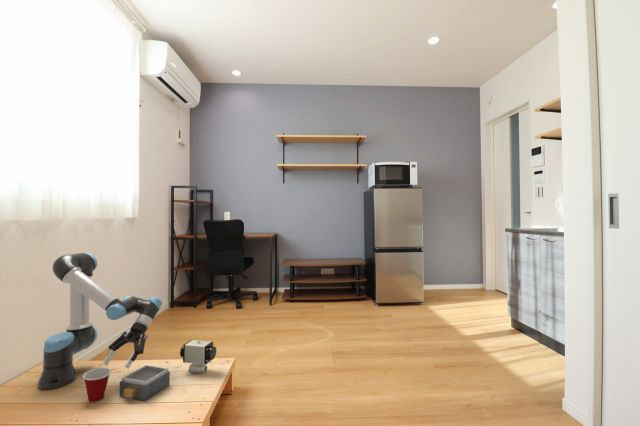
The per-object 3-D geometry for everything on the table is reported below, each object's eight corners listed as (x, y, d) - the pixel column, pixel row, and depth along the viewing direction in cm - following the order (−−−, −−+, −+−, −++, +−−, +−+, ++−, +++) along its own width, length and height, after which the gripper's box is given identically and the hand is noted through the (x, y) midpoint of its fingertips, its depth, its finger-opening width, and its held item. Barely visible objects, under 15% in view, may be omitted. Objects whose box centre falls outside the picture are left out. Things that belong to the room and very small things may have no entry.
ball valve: (217, 370, 173) (218, 337, 174) (209, 377, 165) (210, 343, 166) (188, 367, 176) (189, 335, 177) (178, 374, 168) (179, 341, 169)
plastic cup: (92, 407, 137) (93, 379, 137) (76, 402, 140) (77, 375, 141) (116, 395, 147) (116, 369, 147) (100, 391, 151) (101, 365, 151)
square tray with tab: (114, 399, 143) (115, 380, 144) (145, 381, 160) (146, 364, 160) (140, 404, 139) (141, 385, 140) (169, 385, 156) (170, 368, 156)
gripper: (164, 330, 166) (140, 371, 151) (127, 326, 172) (100, 365, 157) (156, 323, 161) (131, 365, 146) (118, 319, 168) (90, 359, 153)
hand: (115, 365), depth 152 cm, fingers open, 13 cm apart
